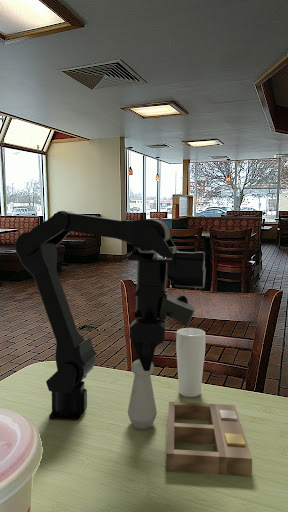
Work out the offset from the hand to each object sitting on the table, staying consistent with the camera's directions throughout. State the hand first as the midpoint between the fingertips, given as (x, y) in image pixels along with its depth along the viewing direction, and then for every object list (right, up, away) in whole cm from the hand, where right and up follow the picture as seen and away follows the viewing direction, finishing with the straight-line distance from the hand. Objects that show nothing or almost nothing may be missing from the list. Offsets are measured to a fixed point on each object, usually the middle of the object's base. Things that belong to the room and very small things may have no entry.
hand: (148, 361), depth 75 cm
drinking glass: (+10, -12, +15) cm, 21 cm away
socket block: (+10, -13, -5) cm, 18 cm away
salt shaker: (-1, -13, +1) cm, 13 cm away
